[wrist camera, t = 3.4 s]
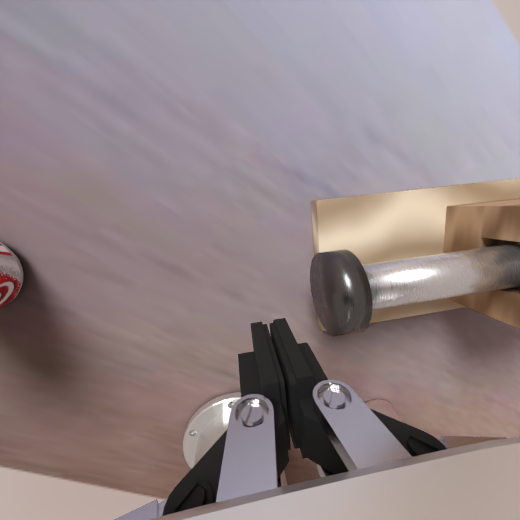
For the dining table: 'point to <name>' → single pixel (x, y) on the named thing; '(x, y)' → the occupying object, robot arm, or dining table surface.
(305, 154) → the dining table surface
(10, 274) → the soda can
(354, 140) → the dining table surface
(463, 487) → the robot arm
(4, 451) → the dining table surface
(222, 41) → the dining table surface
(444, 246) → the bearing block
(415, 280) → the shaft
